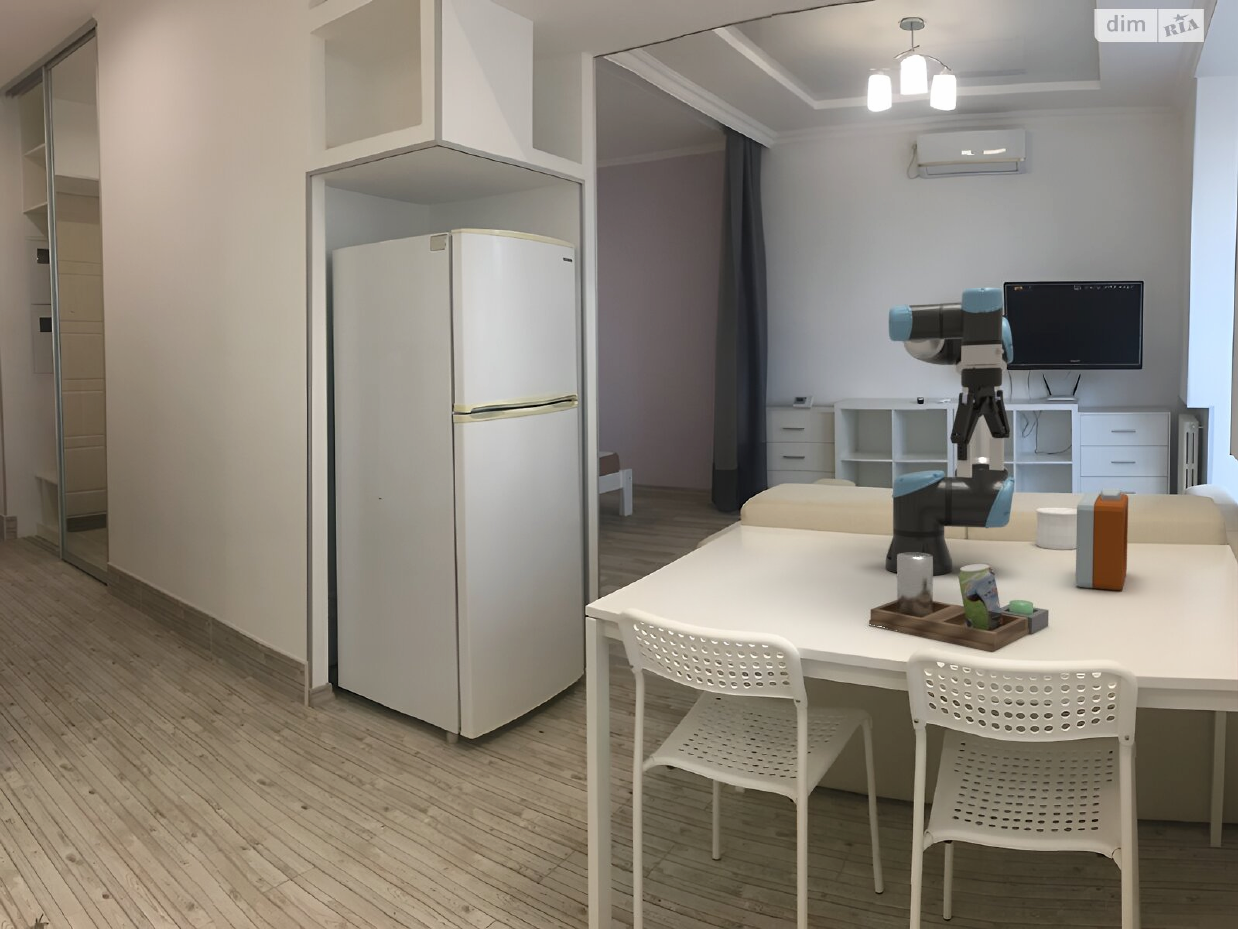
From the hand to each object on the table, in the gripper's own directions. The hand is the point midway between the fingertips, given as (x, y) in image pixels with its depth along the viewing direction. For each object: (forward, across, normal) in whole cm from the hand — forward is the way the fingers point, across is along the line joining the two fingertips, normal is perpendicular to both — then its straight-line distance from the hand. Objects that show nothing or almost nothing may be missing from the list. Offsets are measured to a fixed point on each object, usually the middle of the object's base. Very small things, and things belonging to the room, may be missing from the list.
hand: (980, 473), depth 180 cm
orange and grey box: (+27, +34, -11) cm, 45 cm away
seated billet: (+26, -21, +2) cm, 33 cm away
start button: (+28, -10, -13) cm, 32 cm away
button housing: (+27, -10, -13) cm, 31 cm away
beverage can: (+26, -21, -10) cm, 35 cm away
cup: (+27, +65, +11) cm, 71 cm away
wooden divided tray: (+27, -21, -4) cm, 34 cm away
